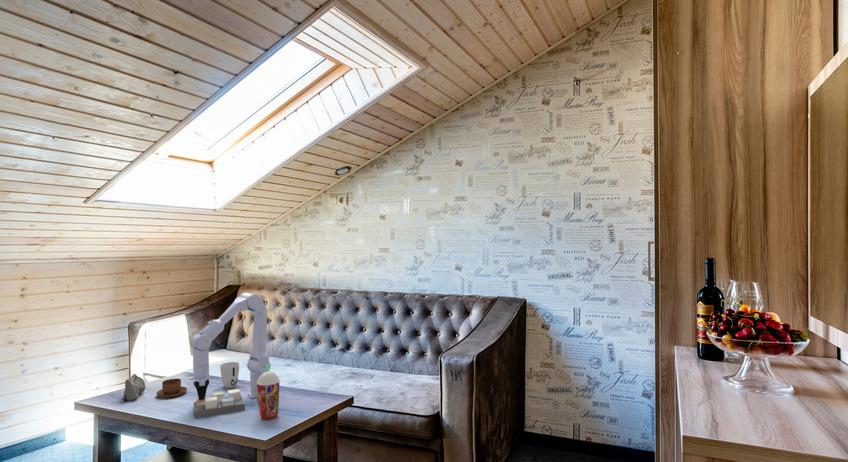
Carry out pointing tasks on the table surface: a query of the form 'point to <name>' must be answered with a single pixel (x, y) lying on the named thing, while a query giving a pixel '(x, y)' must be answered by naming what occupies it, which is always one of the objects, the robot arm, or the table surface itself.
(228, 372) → the cup
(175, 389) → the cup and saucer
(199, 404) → the terracotta key
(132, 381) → the mineral rock
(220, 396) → the sage key
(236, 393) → the cream key
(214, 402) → the cream key
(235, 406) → the keypad board
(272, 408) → the smoothie
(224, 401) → the blue key
